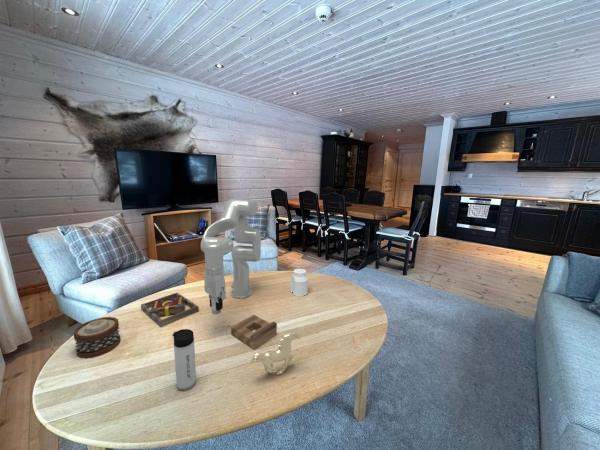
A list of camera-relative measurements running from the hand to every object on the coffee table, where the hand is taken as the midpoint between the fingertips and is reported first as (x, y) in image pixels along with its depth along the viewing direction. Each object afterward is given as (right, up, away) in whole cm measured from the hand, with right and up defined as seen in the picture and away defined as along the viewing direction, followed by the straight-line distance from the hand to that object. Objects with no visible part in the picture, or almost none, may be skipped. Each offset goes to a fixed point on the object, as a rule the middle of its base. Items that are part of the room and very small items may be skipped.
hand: (216, 307), depth 110 cm
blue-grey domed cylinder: (0, -2, +1) cm, 2 cm away
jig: (+16, -14, +4) cm, 22 cm away
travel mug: (-2, -19, -24) cm, 31 cm away
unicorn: (+29, -19, -18) cm, 39 cm away
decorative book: (-33, -10, +22) cm, 41 cm away
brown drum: (-47, -14, -7) cm, 50 cm away
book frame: (-33, -9, +22) cm, 40 cm away
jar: (+37, -7, +48) cm, 61 cm away
